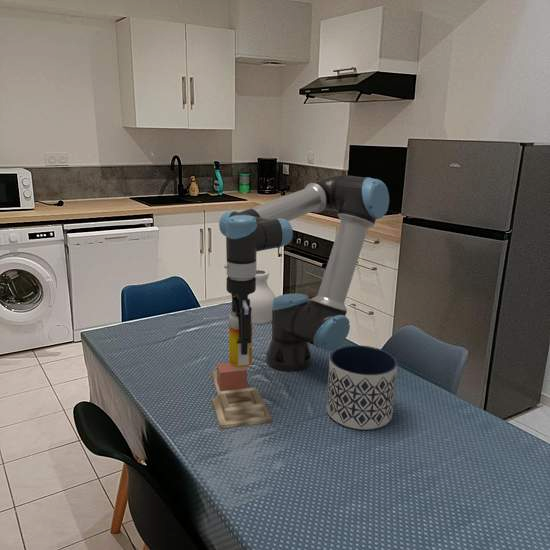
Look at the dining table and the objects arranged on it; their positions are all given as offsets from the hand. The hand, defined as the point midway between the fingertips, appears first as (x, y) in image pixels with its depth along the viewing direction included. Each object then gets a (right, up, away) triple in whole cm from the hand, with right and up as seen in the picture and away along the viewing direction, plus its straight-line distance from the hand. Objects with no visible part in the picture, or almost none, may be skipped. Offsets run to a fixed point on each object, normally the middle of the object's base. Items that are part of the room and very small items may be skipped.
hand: (240, 358), depth 140 cm
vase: (+2, +4, +71) cm, 71 cm away
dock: (-3, -13, +13) cm, 18 cm away
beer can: (0, -2, +1) cm, 2 cm away
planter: (+33, -16, +6) cm, 37 cm away
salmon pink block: (-4, -11, +17) cm, 20 cm away
